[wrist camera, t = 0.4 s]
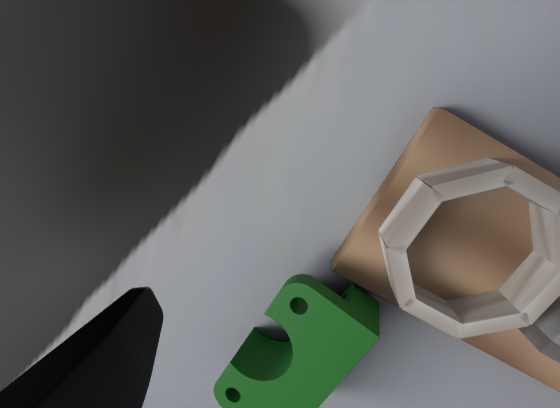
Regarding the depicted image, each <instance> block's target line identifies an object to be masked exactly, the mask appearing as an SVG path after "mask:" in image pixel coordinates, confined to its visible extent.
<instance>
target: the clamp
mask: <svg viewBox="0 0 560 408" xmlns="http://www.w3.org/2000/svg"><path fill="white" fill-rule="evenodd" d="M264 314H265V315H267V316H269V317H271V318H273V319H274V320H275V321H277V322H278V323H279V324H280V325H281V326H282V327H283V328H284V330H285V331H286V332H287V334H288V336H289V338H290V341H275V340H272V339H269V338H267V337H266V336H264V335H263V334H261V333H260V332H259V331H258V330H257V329H256V328H255V327H254V328H253V330H252V331H251V333H250V334H249V336H248V337H247V339H246V340H245V341H244V343H243V344H242V346H241V347H240V349H239V350H238V352H237V353H236V354H235V356H234V357H233V359H232V360H231V362H230V363H229V364H228V366H227V367H226V369H225V370H224V372H223V373H222V375H221V376H220V377H219V379H218V380H217V382H216V384H215V386H214V394H215V398H216V400H217V402H218V403H219V404H220V406H221V407H222V408H318V407H319V406H320V405H321V404H322V403H323V402H324V400H325V399H326V398H327V397H328V396H329V395H330V394H331V392H332V391H333V390H334V389H335V388H336V387H337V385H338V384H339V383H340V382H341V381H342V380H343V379H344V377H345V376H346V375H347V374H348V373H349V372H350V371H351V369H352V368H353V367H354V366H355V365H356V364H357V363H358V361H359V360H360V359H361V358H362V357H363V356H364V354H365V353H366V352H367V351H368V350H369V349H370V348H371V346H372V345H373V344H374V343H375V342H376V341H377V340H378V338H379V302H378V301H377V300H375V299H374V298H372V297H371V296H370V295H368V294H367V293H365V292H364V291H363V290H361V289H360V288H358V287H357V286H356V285H354V284H351V285H350V286H349V287H348V288H347V289H346V290H345V292H344V293H343V294H342V296H341V297H340V296H339V295H337V294H336V293H335V292H333V291H332V290H331V289H329V288H328V287H326V286H325V285H324V284H322V283H321V282H320V281H318V280H317V279H315V278H314V277H312V276H309V275H304V274H300V275H295V276H293V277H291V278H290V279H289V280H287V282H286V283H285V284H284V286H283V287H282V289H281V290H280V292H279V293H278V295H277V296H276V297H275V299H274V300H273V302H272V303H271V305H270V306H269V308H268V309H267V311H266V312H265V313H264Z"/></svg>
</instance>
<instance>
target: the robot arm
mask: <svg viewBox="0 0 560 408" xmlns="http://www.w3.org/2000/svg"><path fill="white" fill-rule="evenodd" d="M162 323H163V311H162V309H161V307H160V305H159V303H158V301H157V299H156V297H155V295H154V293H153V291H152V289H150V288H149V287H138V288H132V289H130V290H129V291H127V292H126V293H125V294H124V295H122V296H121V297H120V298H118V299H117V300H116V301H115V302H113V303H112V304H111V305H110V306H108V307H107V308H106V309H104V310H103V311H102V312H101V313H99V314H98V315H97V316H96V317H94V318H93V319H92V320H90V321H89V322H88V323H87V324H85V325H84V326H83V327H82V328H80V329H79V330H78V331H76V332H75V333H74V334H73V335H71V336H70V337H69V338H68V339H66V340H65V341H64V342H62V343H61V344H60V345H59V346H57V347H56V348H55V349H54V350H52V351H51V352H50V353H48V354H47V355H46V356H45V357H43V358H42V359H41V360H40V361H38V362H37V363H36V364H34V365H33V366H32V367H31V368H29V369H28V370H27V371H26V372H24V373H23V374H22V375H20V376H19V377H18V378H17V379H15V380H14V381H13V382H12V383H10V384H9V385H8V386H7V387H5V388H4V389H3V390H1V391H0V408H142V405H143V402H144V399H145V396H146V393H147V389H148V386H149V382H150V378H151V374H152V370H153V365H154V361H155V356H156V351H157V347H158V342H159V337H160V333H161V328H162Z"/></svg>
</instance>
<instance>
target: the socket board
mask: <svg viewBox="0 0 560 408" xmlns="http://www.w3.org/2000/svg"><path fill="white" fill-rule="evenodd" d="M331 266H332V271H333V272H335V273H337V274H339V275H341V276H342V277H344V278H346V279H348V280H350V281H352V282H354V283H356V284H357V285H359V286H361V287H363V288H365V289H367V290H369V291H371V292H373V293H374V294H376V295H378V296H380V297H382V298H384V299H386V300H388V301H390V302H391V303H393V304H395V305H397V306H399V307H400V308H401V309H402V310H404V311H406V312H408V313H410V314H412V315H413V316H415V317H417V318H419V319H421V320H423V321H425V322H427V323H429V324H430V325H432V326H434V327H436V328H438V329H440V330H442V331H444V332H446V333H447V334H449V335H451V336H453V337H455V338H459V339H461V340H463V341H465V342H467V343H469V344H471V345H473V346H474V347H476V348H478V349H480V350H482V351H484V352H486V353H488V354H489V355H491V356H493V357H495V358H497V359H499V360H501V361H503V362H505V363H506V364H508V365H510V366H512V367H514V368H516V369H518V370H520V371H522V372H523V373H525V374H527V375H529V376H531V377H533V378H535V379H537V380H538V381H540V382H542V383H544V384H546V385H548V386H550V387H552V388H554V389H555V390H557V391H559V392H560V178H559V177H558V176H556V175H554V174H553V173H551V172H549V171H548V170H546V169H544V168H543V167H541V166H539V165H537V164H536V163H534V162H532V161H531V160H529V159H527V158H526V157H524V156H522V155H521V154H519V153H517V152H516V151H514V150H512V149H510V148H509V147H507V146H505V145H504V144H502V143H500V142H499V141H497V140H495V139H494V138H492V137H490V136H489V135H487V134H485V133H483V132H482V131H480V130H478V129H477V128H475V127H473V126H472V125H470V124H468V123H467V122H465V121H463V120H462V119H460V118H458V117H456V116H455V115H453V114H451V113H450V112H448V111H446V110H445V109H443V108H433V109H432V110H431V112H430V113H429V115H428V116H427V118H426V119H425V121H424V122H423V124H422V125H421V127H420V128H419V130H418V131H417V133H416V134H415V136H414V137H413V139H412V140H411V142H410V143H409V145H408V146H407V148H406V149H405V151H404V152H403V154H402V155H401V157H400V158H399V159H398V161H397V162H396V164H395V165H394V167H393V168H392V170H391V171H390V173H389V174H388V176H387V177H386V179H385V180H384V182H383V183H382V185H381V186H380V188H379V189H378V191H377V192H376V194H375V195H374V197H373V198H372V200H371V201H370V203H369V204H368V206H367V207H366V209H365V210H364V212H363V213H362V215H361V216H360V218H359V219H358V221H357V222H356V224H355V225H354V227H353V228H352V230H351V231H350V233H349V234H348V236H347V237H346V239H345V240H344V242H343V243H342V245H341V246H340V248H339V249H338V251H337V252H336V254H335V255H334V257H333V258H332V260H331Z"/></svg>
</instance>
